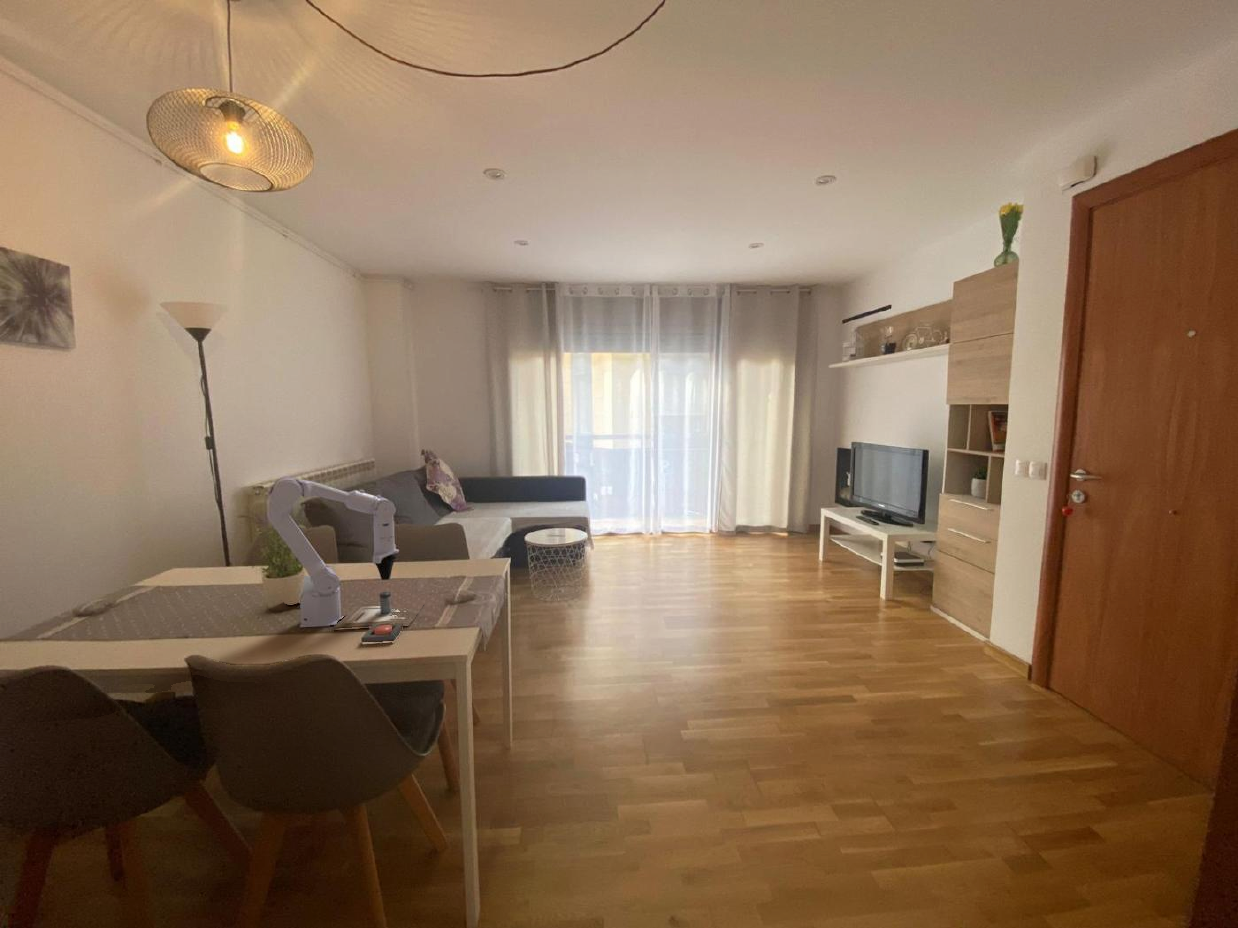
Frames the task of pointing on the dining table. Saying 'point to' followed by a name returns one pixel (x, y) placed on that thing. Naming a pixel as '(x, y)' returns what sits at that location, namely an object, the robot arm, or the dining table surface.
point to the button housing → (392, 636)
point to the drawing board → (366, 617)
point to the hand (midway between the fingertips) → (385, 579)
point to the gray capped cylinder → (385, 603)
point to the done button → (383, 629)
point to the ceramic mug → (307, 586)
